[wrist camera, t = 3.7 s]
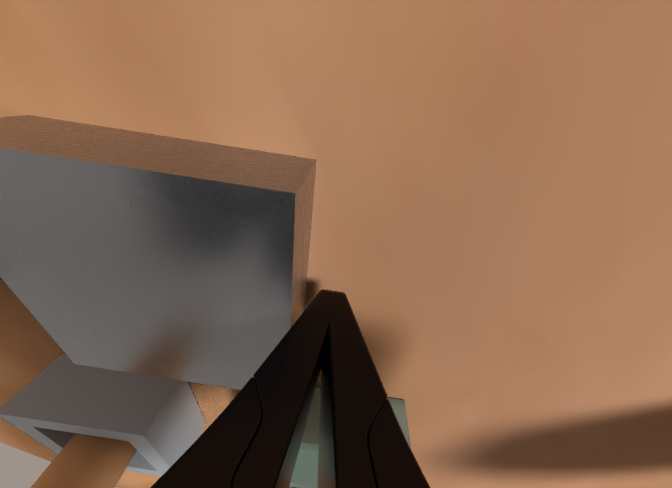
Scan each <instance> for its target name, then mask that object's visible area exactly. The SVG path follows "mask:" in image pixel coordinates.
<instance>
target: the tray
mask: <svg viewBox="0 0 672 488" xmlns="http://www.w3.org/2000/svg"><path fill="white" fill-rule="evenodd" d="M320 393H321V388H320V387H316V390H315V393H314V397H313V401H312V404H311V408H310V412H309V415H308V419H307V423H306V427H305V430H304V434H303V438H302V441H301V445H300V449H299V452H298V456H297V460H296V464H295V467H294V471H293V475H292V478H291V482H290V487H296V488H317V482H318V453H319V423H320ZM387 399H389V401H390V403H391V406H392V408H393V411H394V413H395V416H396V418H397V420H398V422H399V425H400V427H401V429H402V431H403V434H404V436H405V438H406V440H407V443H408V445H409V447H410V449H411V445H410V438H409V431H408V423H407V416H406V409H405V402H404V400H400V399H394V398H387Z"/></svg>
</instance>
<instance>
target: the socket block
mask: <svg viewBox="0 0 672 488" xmlns="http://www.w3.org/2000/svg"><path fill="white" fill-rule="evenodd" d="M0 417H1V418H3V419H4V420H6V421H7V422H9V423H10V424H12V425H13V426H15V427H17V428H18V429H20V430H21V431H23V432H24V433H26V434H27V435H29V436H30V437H32V438H33V439H35V440H36V441H38V442H39V443H41V444H43V445H44V446H46V447H47V448H49V449H50V450H52V451H53V452H55V453H56V454H59V453H60V451H61V450H62V449H63V448H64V447H65V445H66V444H67V443H68V442H69V440H70V439H71V438H72V437H73V436H74V434H75V433H78V434H85V435H91V436H98V437H105V438H111V439H118V440H124V441H129V442H130V443H131V444H132V445H133V446H134V447H135V448H136V449H137V451H136V453H135V454H134V456H133V458H132V459H131V461H130V463H129V464H128V466H127V467H126V469H125V471H130V472H137V473H143V474H150V475H156V476H162V475H163V474H164V473H165V472H166V471H167V470H168V469H169V468H170V467H171V466H172V465H173V464H174V463H175V462H176V461H177V460H178V459H179V458H180V457H181V456H182V455H183V454H184V453H185V451H186V450H187V449H188V448H189V447H190V446H191V445H192V444H193V443H194V442H195V441H196V440H197V439H198V438H199V437H200V435H201V432H202V430H203V428H204V426H205V424H206V422H205V420H204V418H203V415H202V413H201V411H200V408H199V406H198V404H197V402H196V399H195V397H194V395H193V393H192V390H191V388H190V386H189V384H188V382H187V381H180V380H174V379H168V378H161V377H155V376H148V375H142V374H135V373H129V372H123V371H116V370H110V369H103V368H97V367H91V366H84V365H78V364H74V363H73V362H72V361H71V359H70V358H69V357H68V356H67V355H66V354H61V355H60V356H59V357H58V358H57V359H55V360H54V361H53V362H52V363H51V364H50V365H49V366H48V367H46V368H45V369H44V370H43V371H42V372H41V373H40V374H39V375H37V376H36V377H35V378H34V379H33V380H32V381H31V382H30V383H28V384H27V385H26V386H25V387H24V388H23V389H22V390H21V391H20V392H18V393H17V394H16V395H15V396H14V397H13V398H12V399H11V400H9V401H8V402H7V403H6V404H5V405H4V406H3V407H2V408H0Z"/></svg>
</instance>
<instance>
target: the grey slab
mask: <svg viewBox="0 0 672 488" xmlns="http://www.w3.org/2000/svg"><path fill="white" fill-rule="evenodd" d="M315 171H316V160H315V159H309V158H302V157H296V156H289V155H283V154H276V153H270V152H263V151H257V150H251V149H244V148H238V147H231V146H225V145H218V144H212V143H205V142H199V141H192V140H186V139H179V138H173V137H167V136H160V135H154V134H147V133H141V132H134V131H128V130H121V129H115V128H108V127H102V126H95V125H89V124H82V123H76V122H70V121H63V120H57V119H50V118H44V117H37V116H31V115H26V116H14V117H1V118H0V278H1V279H2V280H3V281H4V282H5V283H6V285H7V286H8V287H9V288H10V289H11V290H12V292H13V293H14V294H15V295H16V296H17V297H18V299H19V300H20V301H21V302H22V303H23V304H24V306H25V307H26V308H27V309H28V310H29V311H30V313H31V314H32V315H33V316H34V317H35V318H36V320H37V321H38V322H39V323H40V324H41V326H42V327H43V328H44V329H45V330H46V331H47V333H48V334H49V335H50V336H51V337H52V338H53V340H54V341H55V342H56V343H57V344H58V345H59V347H60V348H61V349H62V350H63V351H64V352H65V354H66V355H67V356H68V357H69V358H70V359H71V361H72V362H73V363H74V364H78V365H84V366H91V367H97V368H103V369H110V370H116V371H123V372H129V373H135V374H142V375H148V376H155V377H161V378H168V379H174V380H180V381H187V382H193V383H200V384H206V385H212V386H219V387H225V388H232V389H238V390H241V389H242V388H243V387H244V386H245V384H246V383H247V382H248V381H249V379H250V378H251V377H253V375H254V373H255V372H256V371H257V370H258V368H259V367H260V366H261V365H262V363H263V362H264V361H265V360H266V358H267V357H268V356H269V355H270V353H271V352H272V351H273V349H274V348H275V347H276V346H277V344H278V343H279V342H280V341H281V339H282V338H283V337H284V336H285V334H286V333H287V332H288V331H289V329H290V328H291V327H292V326H293V324H294V323H295V322H296V321H297V319H298V318H299V317H300V316H301V314H302V313H303V312H304V307H305V295H306V282H307V270H308V257H309V245H310V233H311V220H312V208H313V196H314V183H315Z"/></svg>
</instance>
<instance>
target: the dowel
mask: <svg viewBox="0 0 672 488" xmlns="http://www.w3.org/2000/svg"><path fill="white" fill-rule="evenodd" d="M136 451H137V449H136V448H135V447H134V446H133V445H132V444H131V443H130V442H129V441H124V440H118V439H111V438H105V437H98V436H91V435H85V434H78V433H75V434H74V436H73V437H72V438H71V439H70V440H69V442H68V443H67V444H66V445H65V447H64V448H63V449H62V450H61V451H60V453H59V454H58V455H57V456H56V457H55V459H54V460H53V461H52V462H51V464H50V465H49V466H48V467H47V468H46V470H45V471H44V472H43V473H42V475H41V476H40V477H39V478H38V479H37V481H36V482H35V483H34V484H33V485H32V487H31V488H114V487H115V485H116V484H117V482H118V480H119V479H120V477H121V476H122V474H123V472H124V471H125V469H126V467H127V466H128V464H129V463H130V461H131V459H132V458H133V456H134V454H135V453H136Z"/></svg>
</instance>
